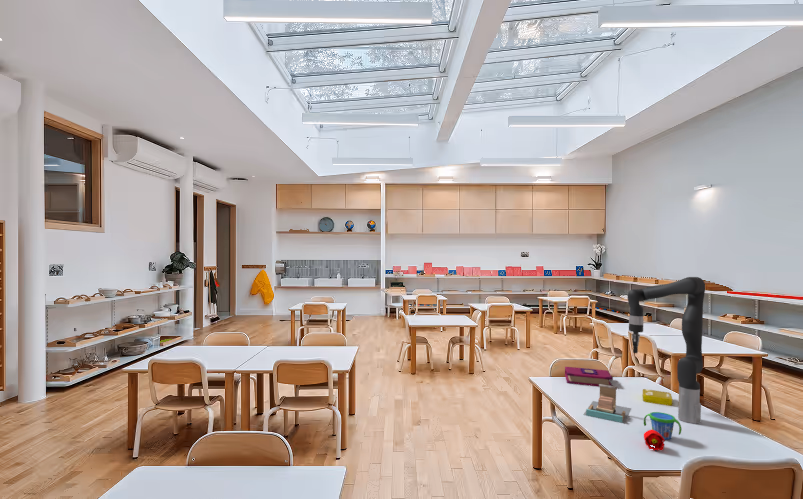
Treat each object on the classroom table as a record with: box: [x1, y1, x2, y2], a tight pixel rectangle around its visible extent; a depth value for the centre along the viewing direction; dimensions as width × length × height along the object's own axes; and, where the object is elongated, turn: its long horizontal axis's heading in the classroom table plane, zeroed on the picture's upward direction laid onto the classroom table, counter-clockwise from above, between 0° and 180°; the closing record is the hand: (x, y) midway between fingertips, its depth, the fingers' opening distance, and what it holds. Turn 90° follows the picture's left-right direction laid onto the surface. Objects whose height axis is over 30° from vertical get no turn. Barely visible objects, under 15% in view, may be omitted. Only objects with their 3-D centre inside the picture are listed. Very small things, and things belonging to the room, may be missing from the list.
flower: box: [643, 429, 665, 451], centre depth 200 cm, size 8×8×8 cm
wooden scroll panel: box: [596, 384, 618, 414], centre depth 239 cm, size 11×9×14 cm
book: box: [564, 366, 614, 387], centre depth 303 cm, size 21×28×8 cm
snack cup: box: [643, 411, 683, 440], centre depth 212 cm, size 16×10×10 cm
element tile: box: [642, 388, 673, 407], centre depth 266 cm, size 15×15×5 cm
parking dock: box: [583, 400, 632, 425], centre depth 243 cm, size 28×20×4 cm
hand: (635, 352), depth 261 cm, fingers closed
